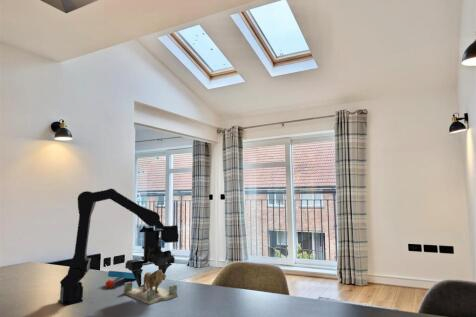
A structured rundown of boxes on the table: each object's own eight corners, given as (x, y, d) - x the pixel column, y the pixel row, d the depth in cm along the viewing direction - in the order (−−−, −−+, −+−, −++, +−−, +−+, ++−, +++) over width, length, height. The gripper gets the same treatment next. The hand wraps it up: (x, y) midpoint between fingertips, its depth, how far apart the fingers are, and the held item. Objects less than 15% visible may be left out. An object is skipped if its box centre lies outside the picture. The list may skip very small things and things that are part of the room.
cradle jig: (149, 304, 112) (149, 292, 113) (123, 293, 125) (123, 282, 126) (177, 296, 121) (177, 285, 122) (150, 286, 134) (150, 277, 135)
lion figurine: (167, 294, 121) (168, 269, 122) (155, 297, 117) (156, 271, 118) (146, 286, 131) (147, 264, 132) (134, 289, 127) (135, 266, 128)
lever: (124, 288, 148) (99, 287, 132) (127, 272, 151) (103, 270, 135) (137, 290, 146) (113, 289, 130) (140, 273, 149) (117, 271, 133)
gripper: (140, 248, 113) (139, 294, 112) (183, 242, 127) (182, 283, 125) (125, 245, 121) (123, 288, 119) (167, 240, 134) (166, 278, 133)
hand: (150, 284), depth 124 cm, fingers open, 9 cm apart
